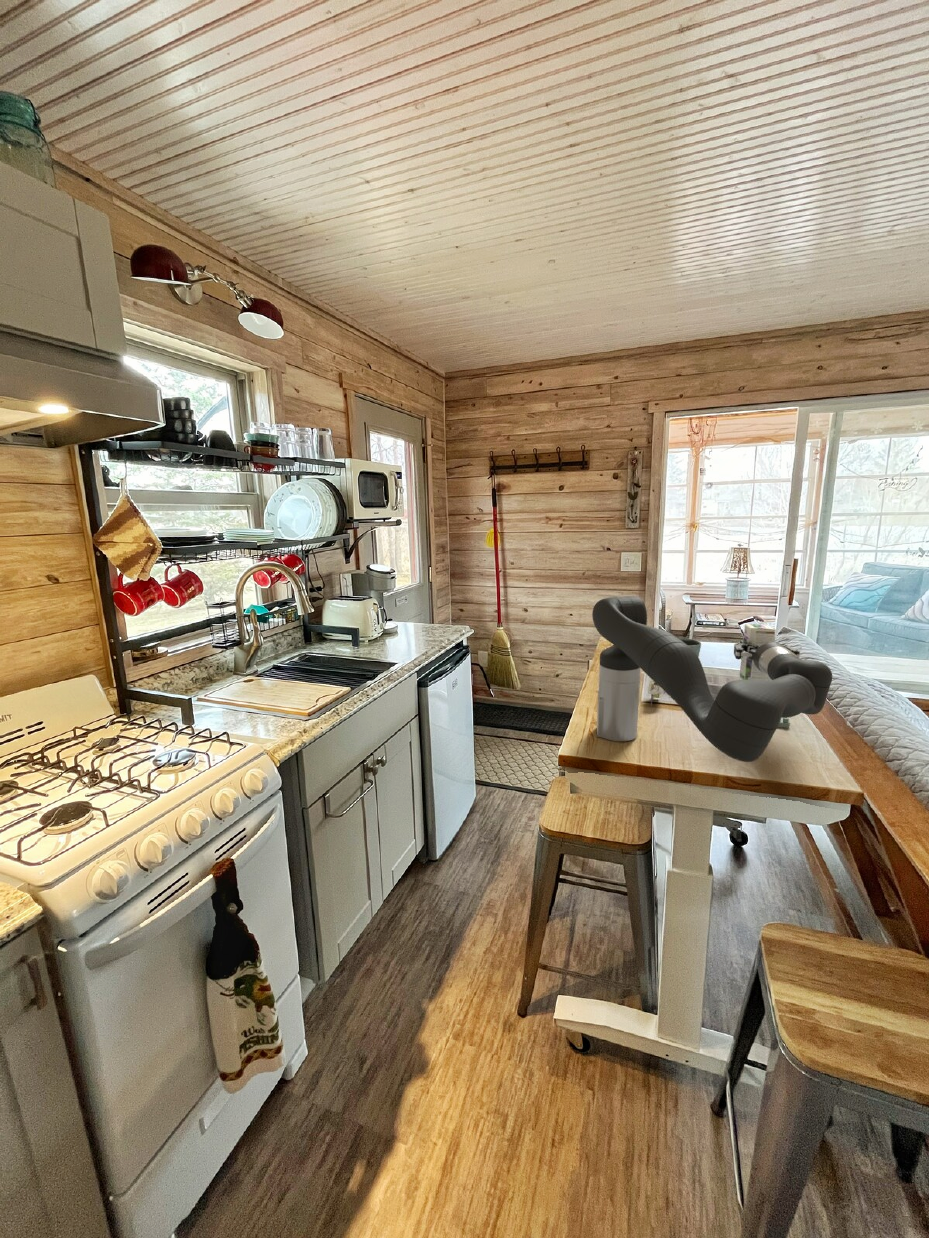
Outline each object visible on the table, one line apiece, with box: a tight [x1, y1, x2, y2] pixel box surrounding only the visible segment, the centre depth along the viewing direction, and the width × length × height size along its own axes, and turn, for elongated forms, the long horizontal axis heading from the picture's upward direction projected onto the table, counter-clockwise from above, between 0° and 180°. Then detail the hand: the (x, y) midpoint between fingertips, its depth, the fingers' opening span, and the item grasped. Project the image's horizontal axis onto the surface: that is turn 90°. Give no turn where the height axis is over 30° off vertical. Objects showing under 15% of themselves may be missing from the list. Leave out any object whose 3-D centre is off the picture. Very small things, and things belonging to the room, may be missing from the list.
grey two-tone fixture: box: [647, 680, 664, 707], centre depth 144 cm, size 12×18×7 cm, turn 157°
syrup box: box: [739, 623, 777, 680], centre depth 132 cm, size 6×6×14 cm
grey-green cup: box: [678, 637, 702, 658], centre depth 163 cm, size 10×10×12 cm
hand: (754, 644), depth 134 cm, fingers closed on syrup box, 6 cm apart
